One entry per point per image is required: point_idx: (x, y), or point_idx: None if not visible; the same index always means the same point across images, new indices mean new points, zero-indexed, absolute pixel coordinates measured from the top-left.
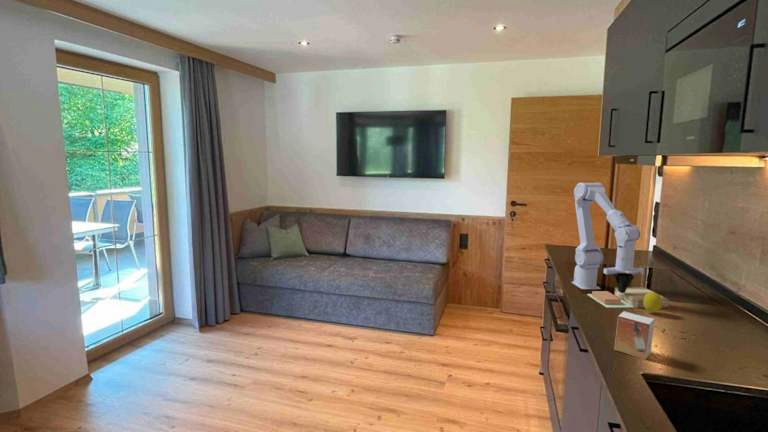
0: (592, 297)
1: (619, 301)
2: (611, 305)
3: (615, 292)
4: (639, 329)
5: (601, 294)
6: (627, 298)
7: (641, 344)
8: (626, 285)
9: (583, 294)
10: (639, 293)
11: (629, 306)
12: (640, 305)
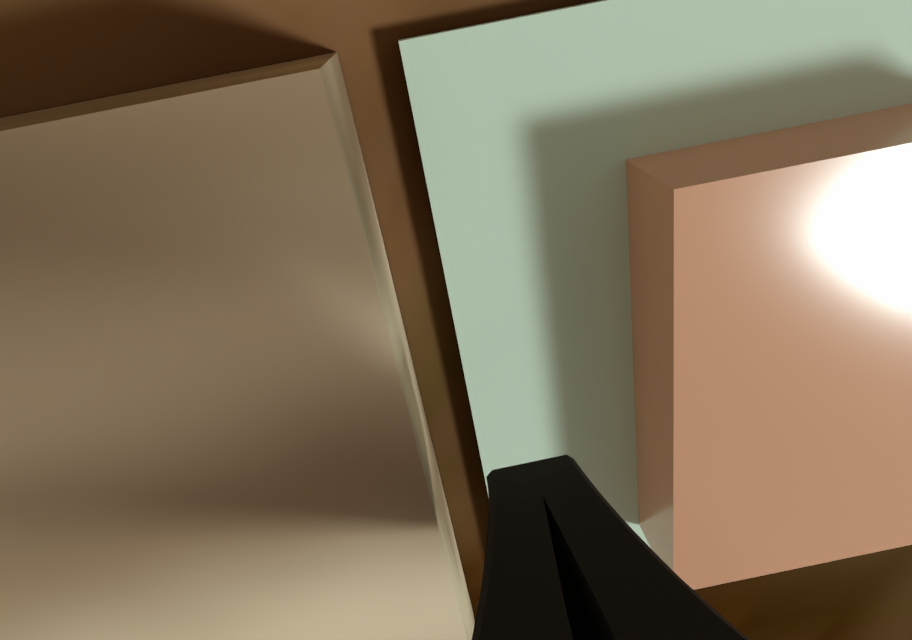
0: None
1: (684, 167)
2: (856, 54)
3: None
4: None
5: (907, 411)
6: (413, 392)
7: None
8: (530, 629)
9: None
10: (122, 569)
11: (495, 53)
12: (246, 73)
